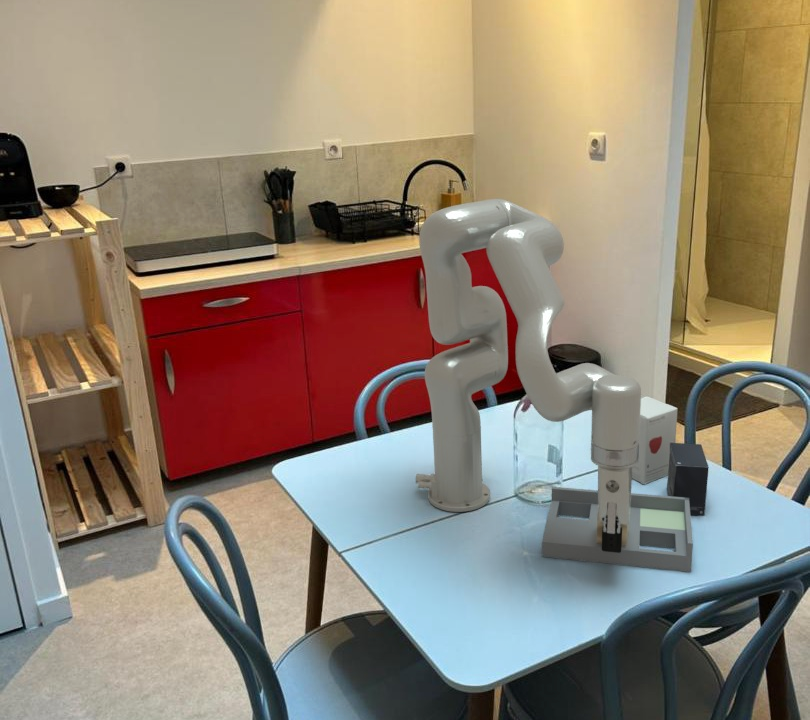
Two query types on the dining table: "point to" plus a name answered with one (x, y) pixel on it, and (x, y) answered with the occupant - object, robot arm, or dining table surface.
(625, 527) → the beech block
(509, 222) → the robot arm
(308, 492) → the dining table surface
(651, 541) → the tray
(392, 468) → the dining table surface
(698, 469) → the small box
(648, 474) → the supplement box
